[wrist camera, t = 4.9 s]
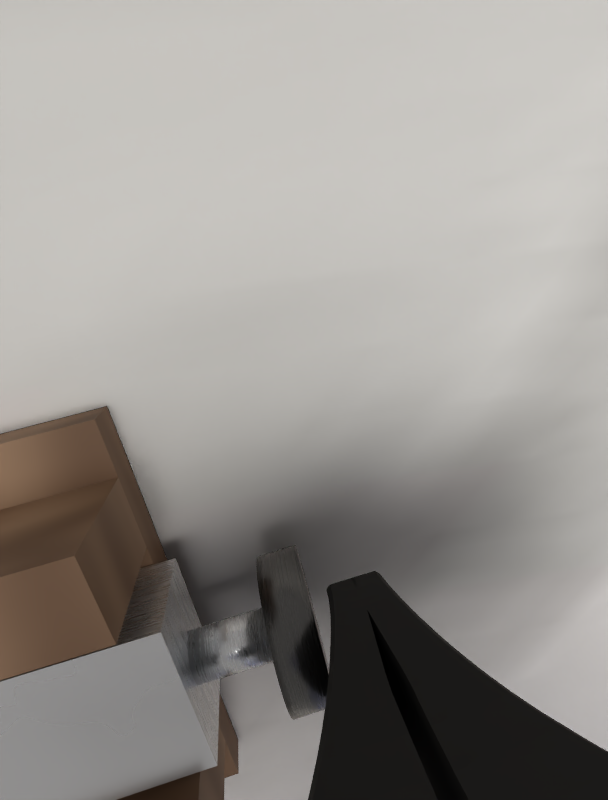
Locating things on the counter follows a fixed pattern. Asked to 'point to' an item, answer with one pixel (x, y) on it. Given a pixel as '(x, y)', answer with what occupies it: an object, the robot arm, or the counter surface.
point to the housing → (79, 560)
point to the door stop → (155, 689)
